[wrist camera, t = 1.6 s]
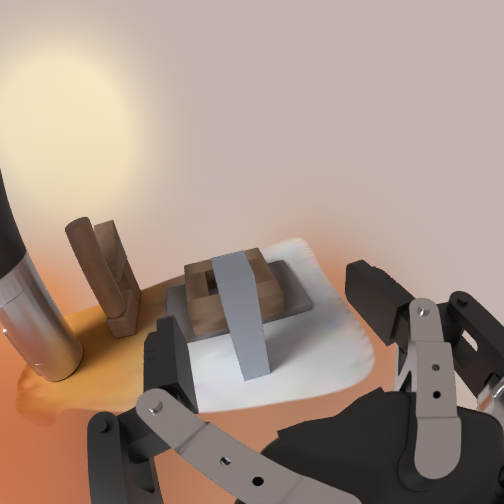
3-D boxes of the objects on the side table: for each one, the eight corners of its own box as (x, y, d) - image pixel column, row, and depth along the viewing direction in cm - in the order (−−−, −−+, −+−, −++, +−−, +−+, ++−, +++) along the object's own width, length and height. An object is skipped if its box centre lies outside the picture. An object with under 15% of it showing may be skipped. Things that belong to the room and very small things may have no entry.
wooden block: (142, 292, 45) (105, 196, 36) (136, 335, 36) (83, 224, 27) (123, 296, 45) (85, 203, 36) (115, 339, 36) (59, 232, 26)
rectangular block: (244, 380, 28) (216, 283, 21) (237, 355, 32) (210, 258, 24) (270, 373, 29) (254, 274, 21) (260, 348, 32) (243, 250, 25)
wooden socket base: (169, 346, 34) (157, 323, 31) (168, 293, 44) (160, 271, 42) (312, 308, 37) (312, 283, 34) (283, 264, 47) (281, 241, 44)
